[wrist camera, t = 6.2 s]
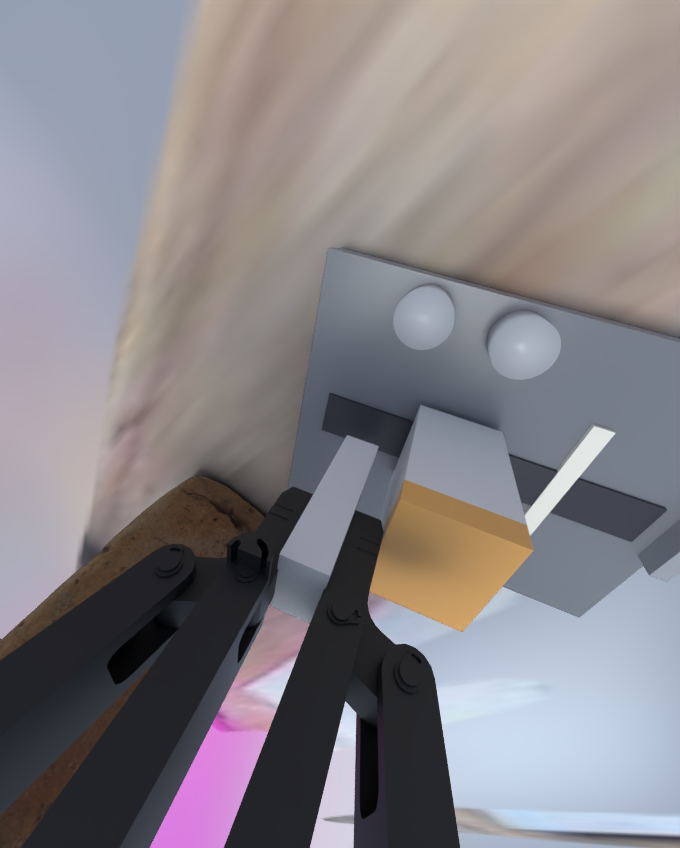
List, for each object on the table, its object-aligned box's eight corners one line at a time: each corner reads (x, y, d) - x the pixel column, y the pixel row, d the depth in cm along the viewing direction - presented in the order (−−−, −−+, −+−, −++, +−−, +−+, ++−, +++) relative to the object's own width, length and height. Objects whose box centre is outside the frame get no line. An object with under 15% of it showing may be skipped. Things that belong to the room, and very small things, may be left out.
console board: (297, 481, 24) (275, 514, 21) (341, 247, 16) (315, 248, 13) (572, 589, 21) (592, 646, 18) (811, 373, 13) (921, 412, 10)
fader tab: (390, 478, 18) (360, 588, 12) (420, 404, 16) (400, 499, 10) (459, 504, 18) (462, 632, 12) (502, 432, 15) (533, 550, 9)
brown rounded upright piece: (178, 504, 31) (-151, 811, 14) (198, 457, 26) (-236, 814, 10) (269, 568, 31) (56, 941, 14) (303, 532, 27) (59, 997, 10)
